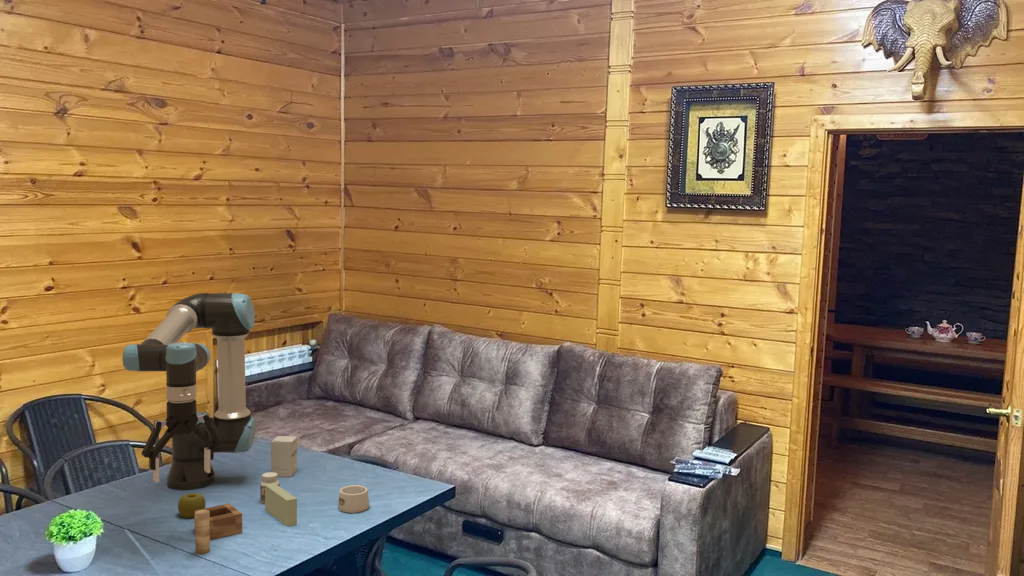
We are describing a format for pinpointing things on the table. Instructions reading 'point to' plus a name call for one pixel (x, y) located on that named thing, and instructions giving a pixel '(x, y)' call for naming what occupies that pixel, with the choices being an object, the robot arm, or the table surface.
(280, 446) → the supplement box
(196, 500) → the apple
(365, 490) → the beige pet bowl
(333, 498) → the table surface
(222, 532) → the block
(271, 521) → the table surface
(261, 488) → the pill bottle
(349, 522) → the table surface
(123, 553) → the table surface
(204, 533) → the dowel
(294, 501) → the board wall
